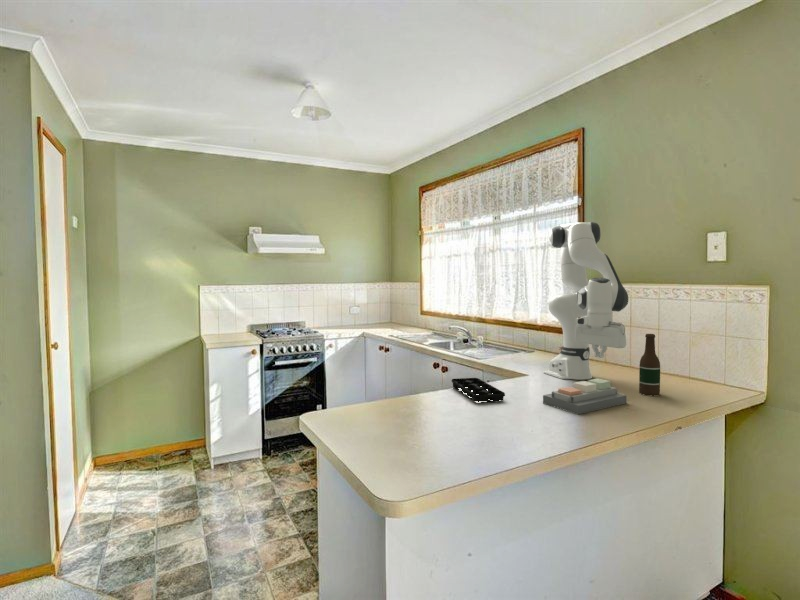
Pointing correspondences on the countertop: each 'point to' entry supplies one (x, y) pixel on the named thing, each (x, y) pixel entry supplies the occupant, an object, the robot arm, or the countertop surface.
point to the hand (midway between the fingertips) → (599, 357)
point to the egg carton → (478, 389)
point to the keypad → (586, 400)
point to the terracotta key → (569, 391)
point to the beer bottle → (649, 369)
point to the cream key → (585, 386)
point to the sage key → (600, 383)
